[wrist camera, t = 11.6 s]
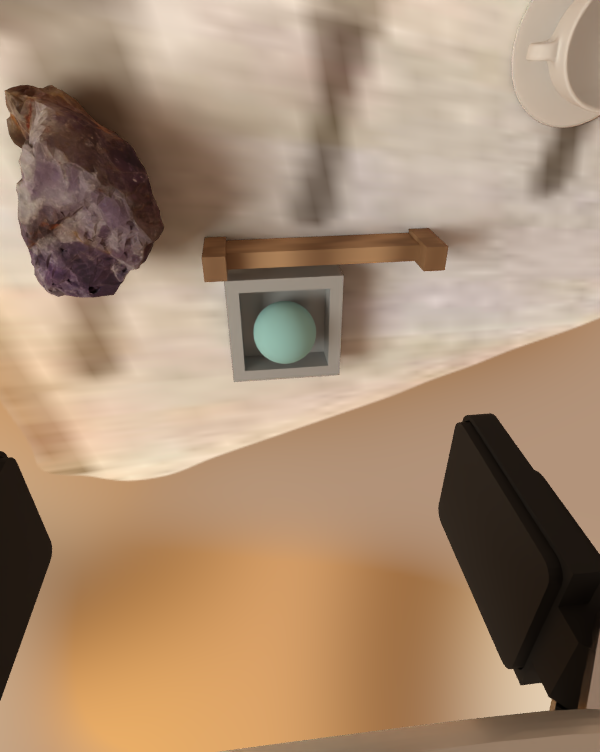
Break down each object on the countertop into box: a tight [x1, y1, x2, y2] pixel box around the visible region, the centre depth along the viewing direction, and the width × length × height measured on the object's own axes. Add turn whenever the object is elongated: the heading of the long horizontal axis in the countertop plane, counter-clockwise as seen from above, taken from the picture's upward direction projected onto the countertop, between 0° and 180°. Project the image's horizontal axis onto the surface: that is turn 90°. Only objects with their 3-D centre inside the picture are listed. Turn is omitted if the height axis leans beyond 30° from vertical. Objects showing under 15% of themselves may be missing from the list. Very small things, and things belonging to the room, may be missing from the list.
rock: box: [5, 85, 164, 297], centre depth 32 cm, size 12×9×10 cm
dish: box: [224, 264, 344, 382], centre depth 41 cm, size 9×9×3 cm
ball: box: [254, 301, 316, 364], centre depth 40 cm, size 5×5×5 cm
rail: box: [202, 228, 448, 282], centre depth 38 cm, size 18×2×4 cm, turn 90°
